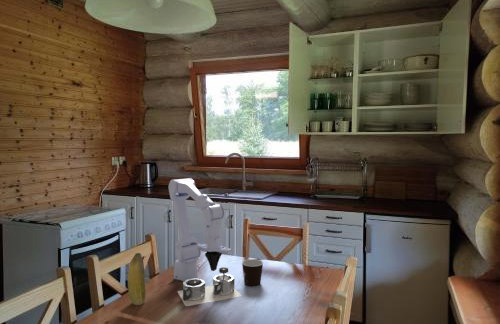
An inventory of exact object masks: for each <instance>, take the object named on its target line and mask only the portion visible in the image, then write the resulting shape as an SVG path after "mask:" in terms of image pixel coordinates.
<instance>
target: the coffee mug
mask: <svg viewBox="0 0 500 324" xmlns="http://www.w3.org/2000/svg"><path fill="white" fill-rule="evenodd" d="M241 264H242V271H243V272H242V273H243V282H244V285H245V286H246V287H249V288H257V287H259V286H261V282H262V275H263V274H262V273H263V266H264V262H263V261H262V260H259V259H253V258H250V259H244V260H243V261H242V262H241Z"/></svg>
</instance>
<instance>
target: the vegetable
mask: <svg viewBox="0 0 500 324" xmlns="http://www.w3.org/2000/svg"><path fill="white" fill-rule="evenodd" d="M145 276H146V275H145V263H144V260H143V257H142V253H140V252H136V253H135V254H134V255H133V257H132V259H131V261H130V262H129V265H128V271H127V290H128V295H129V299H130V301H131V303H132V304H133V305H134V306H141V305H143V304H144V303H145V301H146V280H145V279H146V278H145Z"/></svg>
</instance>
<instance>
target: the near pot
mask: <svg viewBox="0 0 500 324" xmlns="http://www.w3.org/2000/svg"><path fill="white" fill-rule="evenodd" d="M191 280H198V281H199V285H197V286H190V285H189V282H190V281H191ZM205 287H206V282H205V281H204V279H201V278H198V277H197V278H194V279H188V280H186V281H182V290H183V300H184V301H186V300H187V301H198V300H201V299H203V298H204V297H205Z"/></svg>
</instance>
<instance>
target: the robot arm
mask: <svg viewBox="0 0 500 324" xmlns="http://www.w3.org/2000/svg"><path fill="white" fill-rule="evenodd" d="M168 193H169V198H170V200H172V202H173V208H174V213H175V219H176V223H177V229H178V234H179V240H178V241H177V242H176V243H175V245H174V247H175V253H174V254H175V255H174V256H175V257H176V260H175V261H174V264H173V279H174V280H178V281H181V282H184V281H186V280H188V279H194V278H197V279H198V269H197V268H198V263H197V262H198V260H199V258H200V257H201V254H202V251H204V257H206V260H207V261H208V265H209V267H210V271H211V272H214V271H216V270H217V268H218V264H219V262H220V259H221V256H222V255H223V254H224V255H226V256H230V255H232V248H228V247H225V246H223V245H222V219H224V216H225V209H224V207H223V205H222V204H220V203H215V202H214V201H213V200H212V199H211V198H210V197H209V196H208V194H204V193H203V194H202V193H201V191H199V189H198V188H197V186H196V182H195V180H194V179H193V178H192V177H188V178H178V179H177V178H176V179H175V178H174V179H171V180H170V181H169V183H168ZM189 197H190V198H192V199H193V200H194V204H195V206H196V208H198V209H199V210H200V211H201V212H202V216H203V219H204V224H205V235H206V236H205V237H206V238H205V240H206V241H205V242H206V243H199V240H198V239H197V238H196V237H193V236H192V235H193V234H192V230H191V225H190V219H189V214H188V209H187V204H186V203H187V202H186V200H187V199H189ZM205 252H206V253H205Z"/></svg>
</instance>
